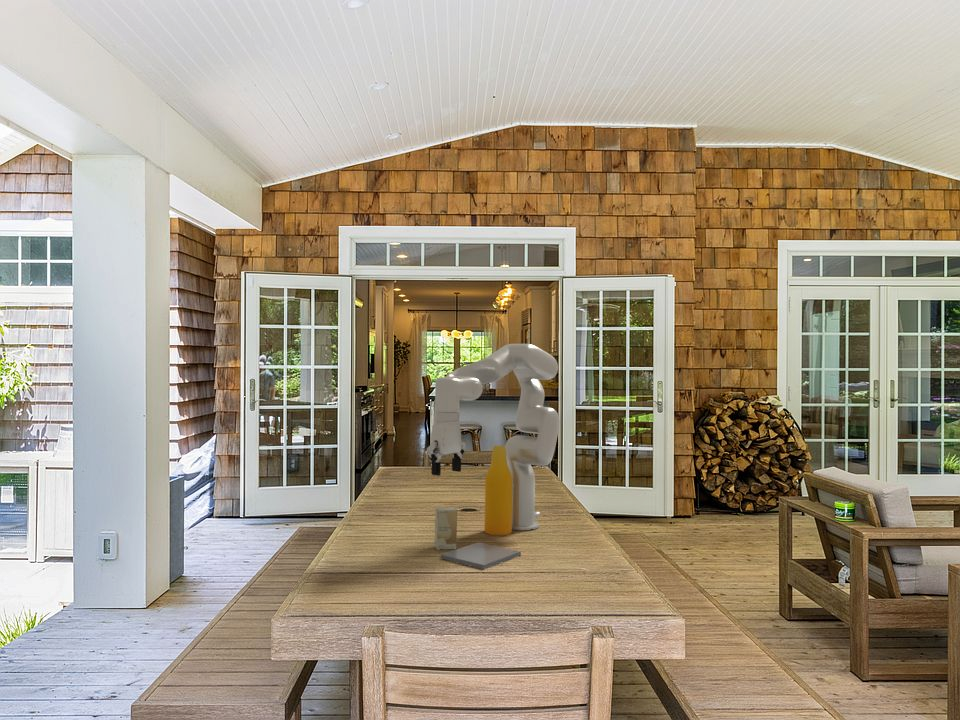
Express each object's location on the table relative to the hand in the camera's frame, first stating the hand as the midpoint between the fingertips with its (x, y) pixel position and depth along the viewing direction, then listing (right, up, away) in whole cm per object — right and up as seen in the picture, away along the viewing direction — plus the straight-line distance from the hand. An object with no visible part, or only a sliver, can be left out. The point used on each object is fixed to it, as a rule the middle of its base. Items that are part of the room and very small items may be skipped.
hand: (446, 473), depth 216 cm
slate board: (+11, -23, -10) cm, 27 cm away
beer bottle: (+16, -24, +20) cm, 35 cm away
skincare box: (0, -23, 0) cm, 23 cm away
